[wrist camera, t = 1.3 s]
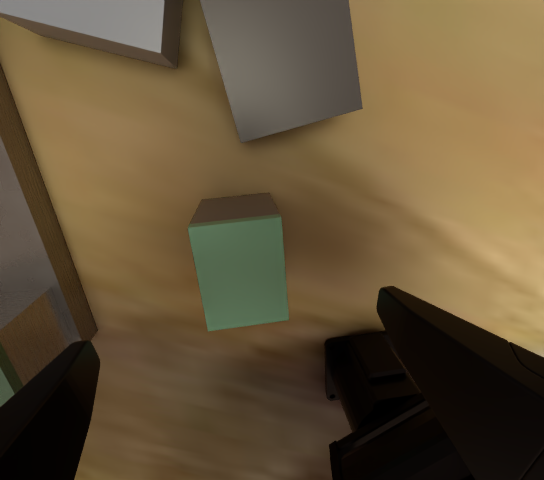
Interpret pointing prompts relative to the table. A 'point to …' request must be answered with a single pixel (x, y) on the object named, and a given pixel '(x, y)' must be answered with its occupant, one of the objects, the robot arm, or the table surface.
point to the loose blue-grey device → (105, 25)
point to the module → (239, 261)
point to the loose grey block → (284, 61)
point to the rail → (32, 265)
